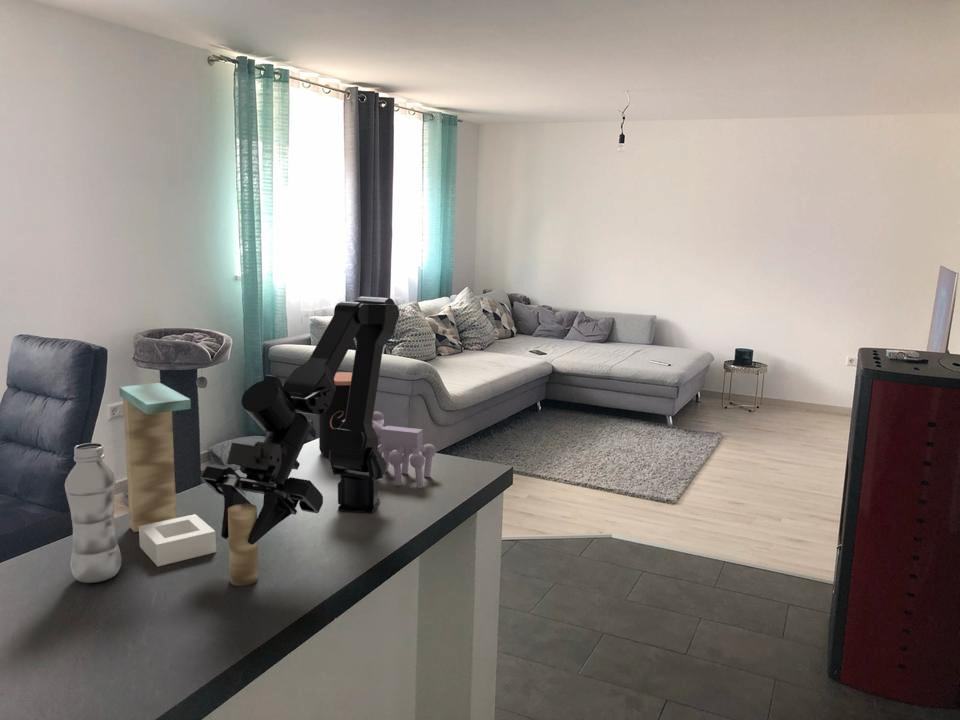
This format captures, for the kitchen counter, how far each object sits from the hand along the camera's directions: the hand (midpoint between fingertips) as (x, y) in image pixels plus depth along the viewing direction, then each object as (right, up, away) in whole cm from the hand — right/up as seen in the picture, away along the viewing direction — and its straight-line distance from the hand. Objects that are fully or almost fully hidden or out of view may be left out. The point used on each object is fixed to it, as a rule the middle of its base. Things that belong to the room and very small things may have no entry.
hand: (236, 540), depth 112 cm
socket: (-13, -4, +12) cm, 18 cm away
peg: (0, -6, +2) cm, 7 cm away
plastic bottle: (-21, -6, +2) cm, 22 cm away
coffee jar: (+4, +4, +65) cm, 66 cm away
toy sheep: (+15, +1, +50) cm, 53 cm away
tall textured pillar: (-17, -3, +17) cm, 24 cm away
